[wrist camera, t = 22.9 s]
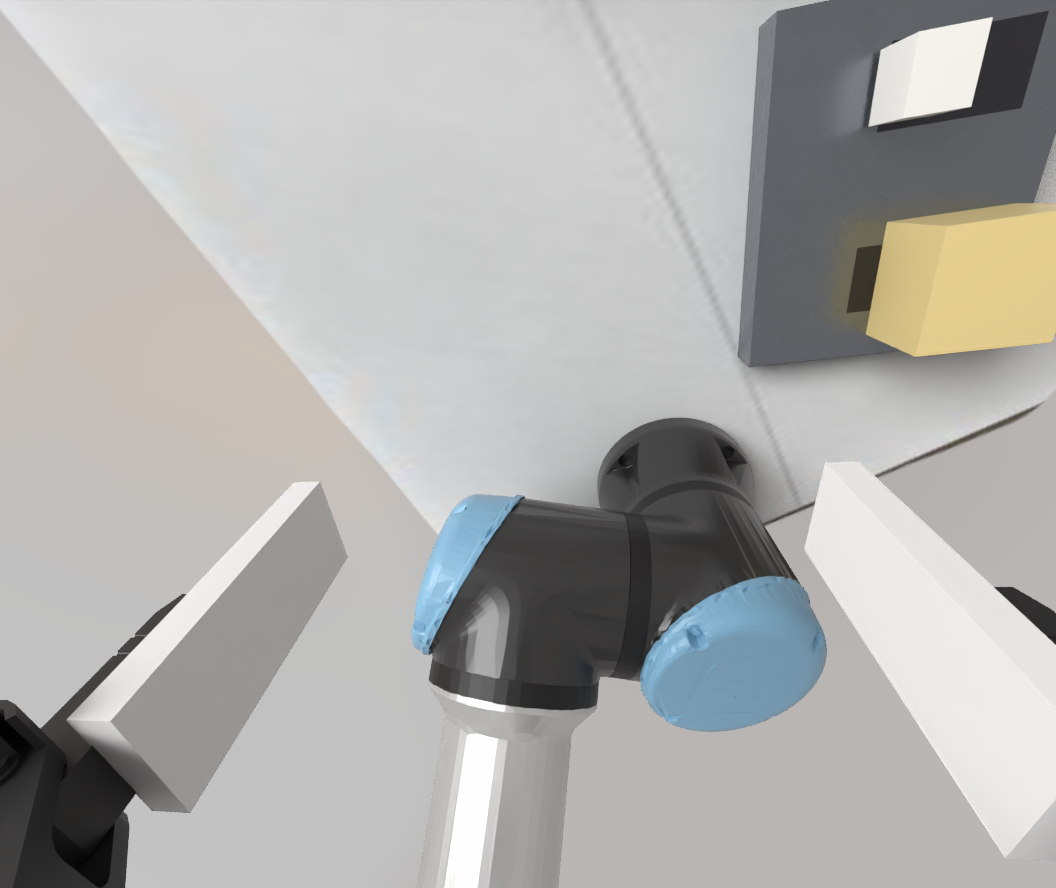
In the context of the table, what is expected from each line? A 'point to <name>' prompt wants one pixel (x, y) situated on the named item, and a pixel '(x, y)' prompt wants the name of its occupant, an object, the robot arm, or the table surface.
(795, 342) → the breaker panel
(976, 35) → the block
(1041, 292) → the cap
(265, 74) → the table surface
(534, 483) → the table surface
